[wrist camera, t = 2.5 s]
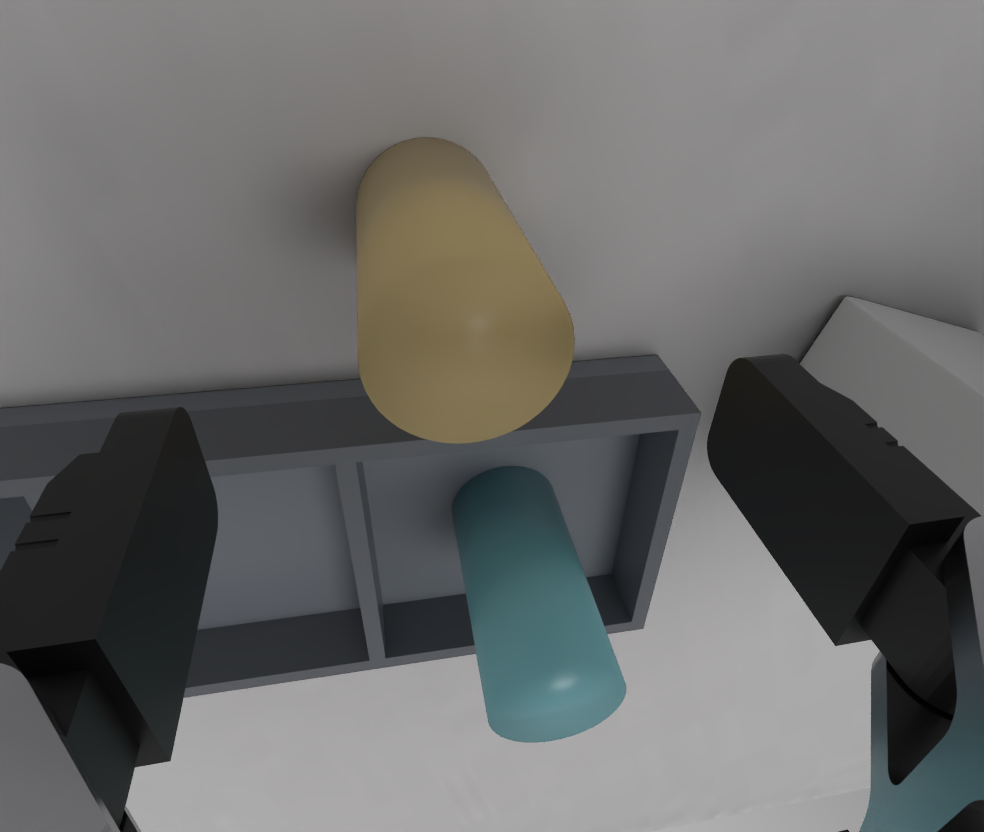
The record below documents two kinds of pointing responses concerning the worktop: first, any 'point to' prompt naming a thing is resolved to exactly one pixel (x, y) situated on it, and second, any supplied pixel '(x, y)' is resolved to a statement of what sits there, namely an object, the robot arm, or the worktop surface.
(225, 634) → the grey divided tray
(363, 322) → the tan rounded cylinder
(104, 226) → the worktop surface
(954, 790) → the robot arm
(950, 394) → the milk carton
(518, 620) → the teal rounded cylinder
